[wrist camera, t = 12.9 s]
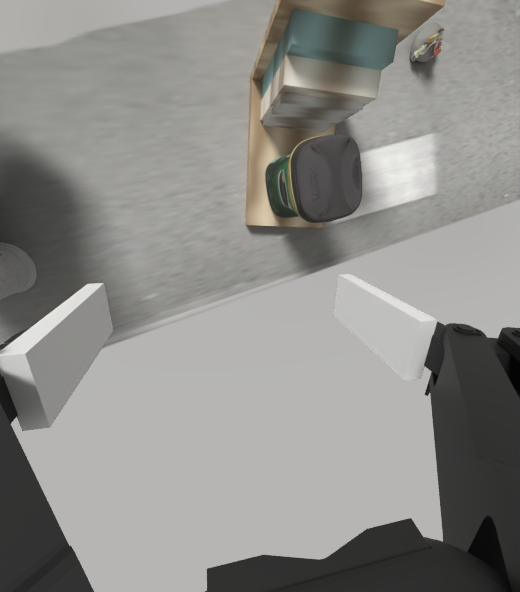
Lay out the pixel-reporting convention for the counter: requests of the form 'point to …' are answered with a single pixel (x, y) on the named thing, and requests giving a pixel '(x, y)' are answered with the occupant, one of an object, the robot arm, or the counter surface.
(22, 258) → the glass holder
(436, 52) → the figurine
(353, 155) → the coffee jar
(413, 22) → the shelf
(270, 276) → the counter surface
